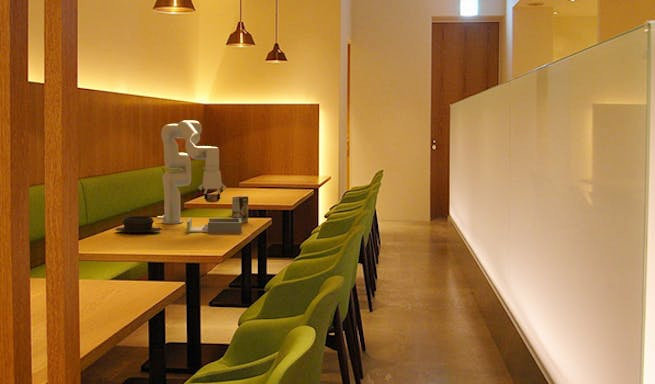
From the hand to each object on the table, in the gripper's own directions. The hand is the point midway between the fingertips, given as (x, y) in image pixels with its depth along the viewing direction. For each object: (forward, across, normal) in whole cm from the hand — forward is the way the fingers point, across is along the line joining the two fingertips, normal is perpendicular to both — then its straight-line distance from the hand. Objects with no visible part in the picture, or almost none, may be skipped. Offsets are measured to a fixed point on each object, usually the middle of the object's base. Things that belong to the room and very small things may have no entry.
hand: (212, 200), depth 414 cm
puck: (+1, 0, 0) cm, 1 cm away
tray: (+17, -3, 0) cm, 18 cm away
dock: (+17, +7, 0) cm, 19 cm away
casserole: (+17, -40, -6) cm, 44 cm away
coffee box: (+17, +16, +36) cm, 43 cm away
